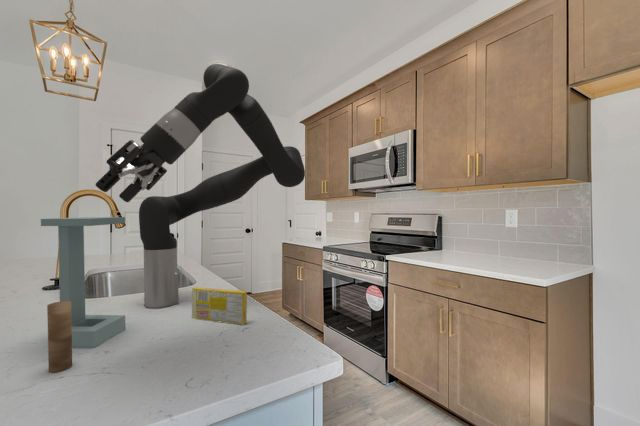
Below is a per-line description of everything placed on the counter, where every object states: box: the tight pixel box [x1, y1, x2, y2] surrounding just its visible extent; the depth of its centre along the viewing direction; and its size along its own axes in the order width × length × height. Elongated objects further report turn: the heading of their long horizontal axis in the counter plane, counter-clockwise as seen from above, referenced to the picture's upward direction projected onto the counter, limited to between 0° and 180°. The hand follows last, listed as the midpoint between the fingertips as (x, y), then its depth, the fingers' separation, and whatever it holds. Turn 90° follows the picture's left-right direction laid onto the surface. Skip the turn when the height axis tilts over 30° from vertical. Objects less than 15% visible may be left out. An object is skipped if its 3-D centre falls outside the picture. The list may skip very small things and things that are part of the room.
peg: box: [46, 301, 73, 374], centre depth 58 cm, size 3×3×12 cm
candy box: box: [191, 286, 248, 325], centre depth 83 cm, size 16×2×8 cm, turn 71°
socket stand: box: [40, 216, 126, 349], centre depth 72 cm, size 11×11×28 cm
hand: (112, 194), depth 61 cm, fingers open, 8 cm apart
